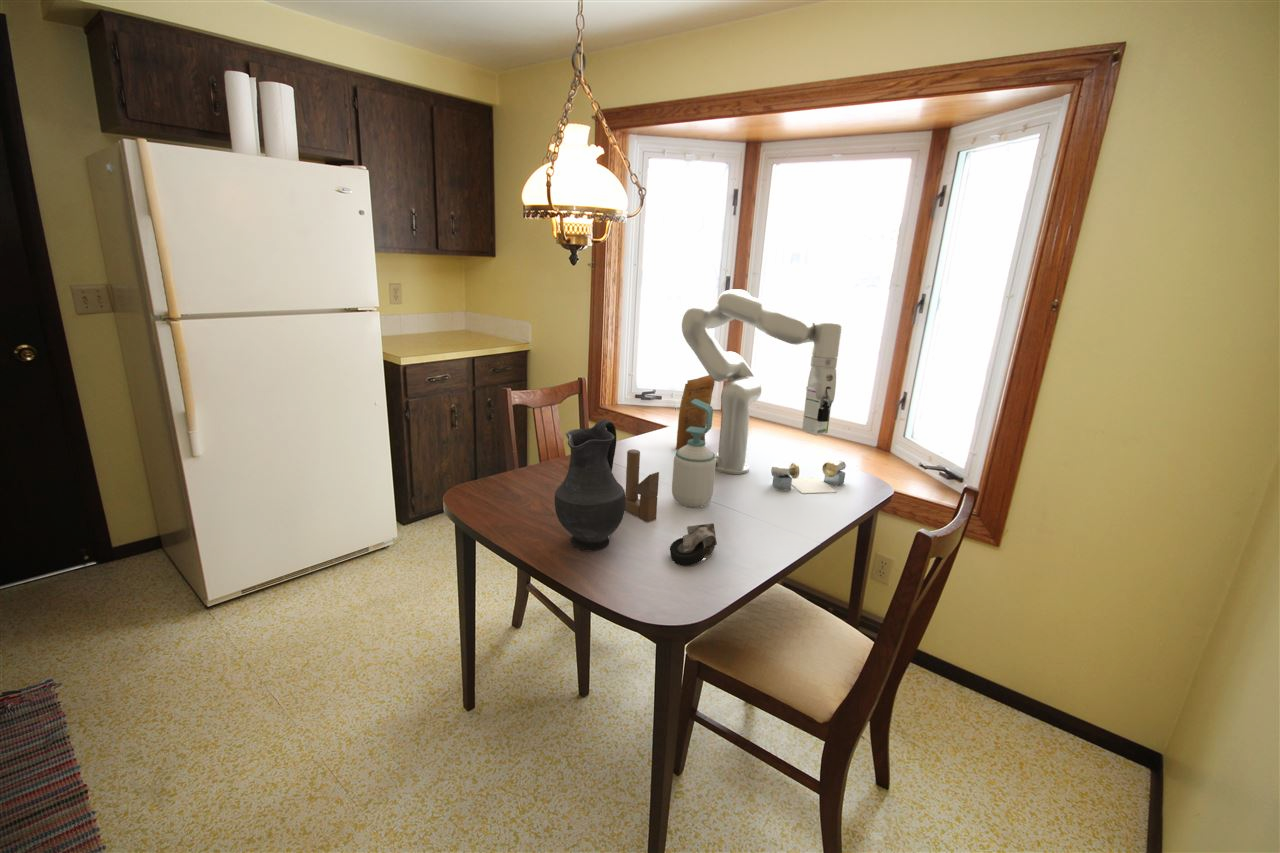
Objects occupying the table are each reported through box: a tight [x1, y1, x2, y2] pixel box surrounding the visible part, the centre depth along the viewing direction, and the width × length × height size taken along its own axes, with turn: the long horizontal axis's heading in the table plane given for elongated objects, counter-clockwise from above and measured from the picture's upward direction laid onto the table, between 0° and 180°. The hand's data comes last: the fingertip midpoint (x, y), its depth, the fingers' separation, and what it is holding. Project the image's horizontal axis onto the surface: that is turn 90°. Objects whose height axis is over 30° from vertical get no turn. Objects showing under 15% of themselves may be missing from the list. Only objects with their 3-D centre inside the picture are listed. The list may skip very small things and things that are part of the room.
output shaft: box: [821, 460, 847, 487], centre depth 185 cm, size 8×5×8 cm, turn 131°
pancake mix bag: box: [675, 374, 716, 450], centre depth 213 cm, size 7×19×28 cm, turn 131°
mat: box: [791, 477, 837, 495], centre depth 183 cm, size 12×12×1 cm
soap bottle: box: [671, 399, 716, 509], centre depth 162 cm, size 12×12×31 cm
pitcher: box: [554, 419, 626, 552], centre depth 137 cm, size 17×21×30 cm
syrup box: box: [801, 387, 832, 436], centre depth 174 cm, size 6×6×14 cm
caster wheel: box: [669, 522, 718, 567], centre depth 134 cm, size 7×11×10 cm
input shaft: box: [771, 462, 800, 491], centre depth 180 cm, size 8×5×8 cm, turn 101°
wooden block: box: [625, 449, 660, 523], centre depth 154 cm, size 4×11×18 cm, turn 42°
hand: (816, 417), depth 175 cm, fingers closed on syrup box, 7 cm apart
